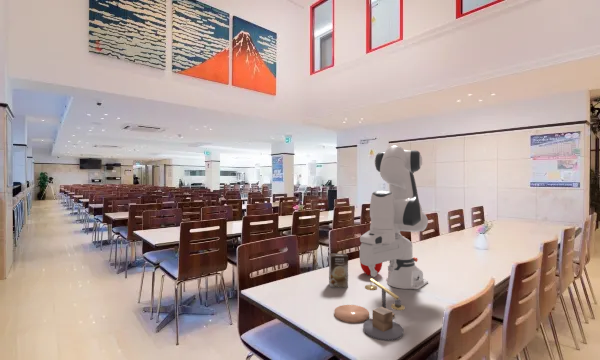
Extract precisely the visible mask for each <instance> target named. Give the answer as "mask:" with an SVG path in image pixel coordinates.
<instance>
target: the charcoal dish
mask: <svg viewBox="0 0 600 360" xmlns="http://www.w3.org/2000/svg"><path fill="white" fill-rule="evenodd" d="M362 327H363V328H362V329H363V332H364V334H366V335H367V336H369V337H370V338H372V339H376V340H379V341H388V342H389V341H396V340H399V339H401V338H402V337H403V336H404V329H403V327H402V325H400V323H398V322H397V321H393V328H391V329H389V330H387V331H384V332H383V331H381V330H379V329H377V328H375V327H373V318H369V319H368V320H366V321H364V322H363V326H362Z"/></svg>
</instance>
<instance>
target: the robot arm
mask: <svg viewBox="0 0 600 360" xmlns="http://www.w3.org/2000/svg"><path fill="white" fill-rule="evenodd" d="M422 165H423V157H422V155H421V152H420V151H419V150H416V149H411V150H410V149H408V150H407V149H404V148H403V147H401V146H398V145H392V146H389V147H388V148H387V149H386V150H385V151H380V152H378V153H377V154H376V155H375V159H374V167H375V169H376V171H377V172H379V175H380V178H382V180H383V181H384V182H386V183H387V184H388V185H389V188H388V189H389V190H377V191H376V190H375V191H373V192H372V193H371V196H370V197H371V198H370V202H369V204H370V205H369V217H370V225H369V230H368V231H366V232H365V233H363V234H362V235H360V237H359V241H360V243H361V244H360V246H359V263H360V262H361V264H363V265H366V266H368V267H369V269H370V271H371V276H370V277H375V278H376V276H378V274H377V271H375V268H374V267H375V264H378V263H382V264H383V263H385V262H389V265H388V266H387V270H388V271H387V272H388V273H387V277H386V282H387V283H386V284H388V286H390V287H393V288H397V289H402V290H403V289H405V290H408V289H409V290H419V289H421V288H422V287H424V286H425V285H427V284H428V283H429V280H428V279H425V278H424V273H423V270H422V269H420V268H419V267H418V266H417V265H416V263H417V262H418V260H419V259H418V257H413V243H412V241H410V239H408V238H406V237H404V236H403V235H402V234H401V232H412V233H413V232H414V233H415V232H424V231H425V230H426V229H427V228H428V224H429V219H428V217H427V214H425V212H424V211H423V209H422V205H421V203H420V199H419V195H418V190H417V184H416V179H415V176H414V174H415V173H416V172H418V171H419V170H421V166H422ZM415 262H416V263H415ZM361 264H360V265H361Z"/></svg>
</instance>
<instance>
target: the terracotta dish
mask: <svg viewBox="0 0 600 360" xmlns="http://www.w3.org/2000/svg"><path fill="white" fill-rule="evenodd" d="M333 311H334V313H333V315H334V316H335V318H336V319H338V320H339V321H342V322H345V323H351V324H355V323H364V322H366V321H367V320H369V319H370V311H369V310H368V309H367V308H365V307H363V306H360V305H356V304H343V305H339V306H337V307H335V308H334V310H333Z"/></svg>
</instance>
